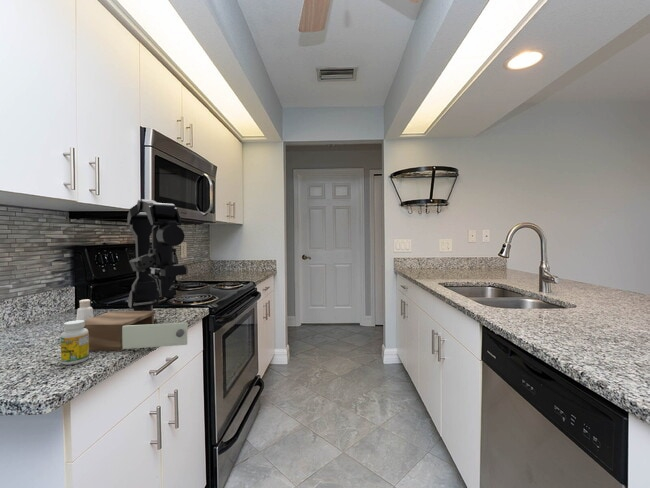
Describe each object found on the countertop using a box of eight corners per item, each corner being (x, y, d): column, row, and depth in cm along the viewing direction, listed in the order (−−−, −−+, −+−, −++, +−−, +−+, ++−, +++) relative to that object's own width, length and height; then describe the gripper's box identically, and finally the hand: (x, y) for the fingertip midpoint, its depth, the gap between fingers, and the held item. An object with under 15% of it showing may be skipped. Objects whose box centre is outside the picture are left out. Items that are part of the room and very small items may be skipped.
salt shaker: (82, 338, 94) (82, 302, 94) (69, 336, 95) (69, 301, 95) (100, 333, 99) (99, 298, 99) (87, 331, 101) (87, 298, 100)
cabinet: (111, 332, 99) (111, 311, 99) (155, 332, 99) (155, 310, 99) (70, 350, 83) (70, 324, 83) (122, 350, 83) (122, 324, 83)
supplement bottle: (94, 357, 78) (93, 319, 78) (74, 365, 73) (73, 325, 73) (76, 356, 79) (75, 318, 79) (54, 364, 74) (54, 324, 74)
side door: (187, 343, 86) (187, 322, 86) (185, 346, 84) (185, 324, 84) (123, 347, 83) (123, 325, 83) (120, 350, 81) (120, 327, 81)
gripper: (121, 244, 93) (121, 296, 93) (146, 246, 81) (146, 306, 81) (160, 244, 101) (160, 291, 102) (188, 245, 89) (188, 299, 90)
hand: (163, 296), depth 93 cm, fingers closed
